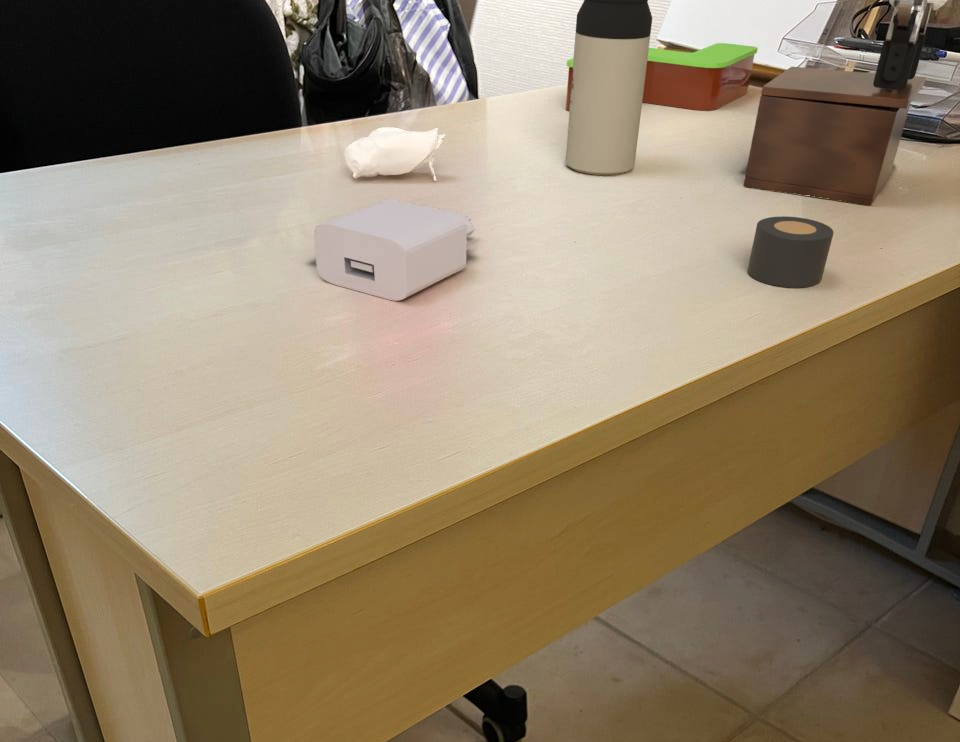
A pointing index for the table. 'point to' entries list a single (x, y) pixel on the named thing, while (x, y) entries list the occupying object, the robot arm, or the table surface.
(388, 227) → the charger
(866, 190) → the chest
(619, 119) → the travel mug
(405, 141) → the bird figurine
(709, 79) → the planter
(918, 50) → the robot arm
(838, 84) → the lid
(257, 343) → the table surface
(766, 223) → the tape
